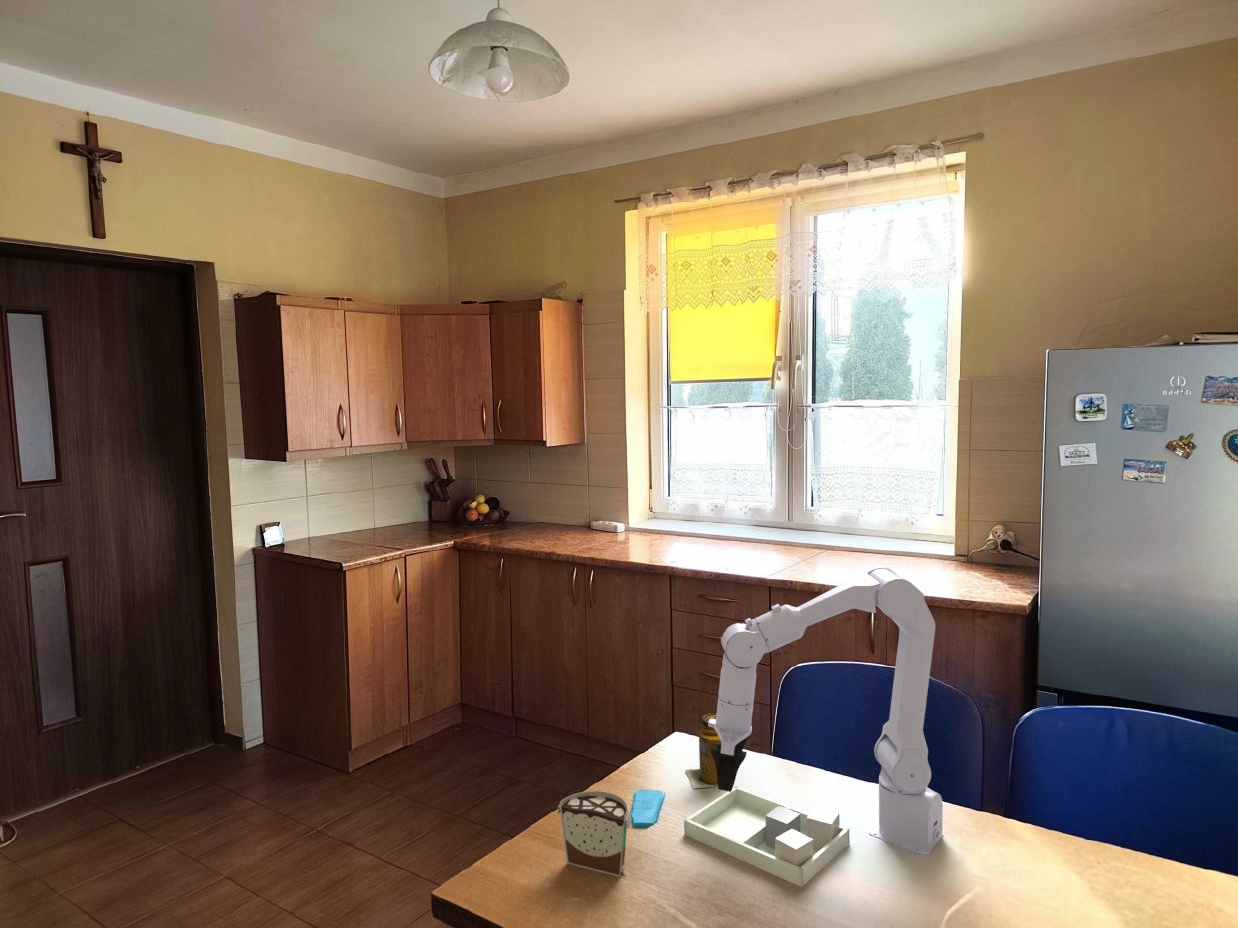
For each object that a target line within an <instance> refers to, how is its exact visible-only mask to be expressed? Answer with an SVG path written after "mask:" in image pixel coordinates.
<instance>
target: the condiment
mask: <svg viewBox="0 0 1238 928" xmlns="http://www.w3.org/2000/svg"><path fill="white" fill-rule="evenodd" d="M716 715H717V712H715V713H714V712H712V713H706V714H704V715H702V717H701V718H700V730H699V731H698V732H699V733H698V749H699V752H698V753H699V755H698V756H699V758H698V759H699V760H698V761H699V768H696V769H692V768H691V769H690V768H689V769H685V770H684V771H685V773H686V775H687V778H688V780H689V782H690V784H691V786H692V788H693V789H695V790H696V789H702V788H703V789H704V788H714V787H715V786H718V784H717V774H716V766H715V762H714V759H713V757H712V755H711V751H710V749H711V745H712V743H714V744H719V745H721V744H722V742H721V740H720V738H719V736H718V734H717V732H716V730H715V728H712V727H709V726H708V722H709V719H716Z"/></svg>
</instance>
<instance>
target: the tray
mask: <svg viewBox="0 0 1238 928" xmlns="http://www.w3.org/2000/svg"><path fill="white" fill-rule="evenodd" d="M778 806H781V807H784V808H786V809H789V810H792V811H794V812H797V813H800V833H801V834H803V835H805V836H807V817H808V815H809V814H810V813H809V812H805V811H803V810H801V809H797V808H795V807H793V806H790V805H787V804H784V803H782V802H779V801H777V800H774V799H771V798H769V797H765V796H764V795H761V794H758V793H755V792H752V791H750V790H747V789H744V788H742V787H739V786H733V788H732V791H731V792H729V791H725V792H724V793H723V794H722V795H720V796H719V797H717V798H716V799H714V800H712V801H711V802H709V803H708V804H707V805H705V806H703V807H702V808H700V809H699V810H697V811H696V812H694V813H692V814H691V815H690V816H688V817H687V818H685V819H683V825H684V826H683V828H684V829H683V830H684V834H683V835H684V836H686V837H689V838H691V839H694V840H696V841H698V842H700V843H701V844H705V845H707V846H709V847H711V848H714V849H715V850H717V851H720V852H722V853H724V854H727V855H729V856H731V857H733V858H736V859H737V860H740V861H743V862H744V863H746V864H748V865H751V866H753V867H755V868H757V869H760V870H762V871H765V872H767V873H768V874H771V875H774V876H775V877H778V878H780V879H782V880H785V881H786V882H789V883H791V884H793V885H796V886H798V887H800V888H803V887H804V886H805V885H806V884H807V883H808V882H809V881H810V880H811V879H813V878H814V877H815V876H816V875H817V874H818V873H819V872H820V871H821V870H823V869H824V868H825V867H826V866H827V865H828V864H829V863H831V862H832V860H834V858H836V857H837V856H838V855H839V854H840V853H842V852H843V850H845V849H846V848H847V847H848V846H850V828H849V827H845V826H844V825H840V833H839V834H838V835H837V836H836V837H834V838H833V839H832V840H831V841H830V842H829V843H828V844H826V845H825V846H824V847H823V848H822V849H821V850H820V851H818V850H814V849H813V857H811V858H810V859H809V860H808V861H807V862H806V863H805V864H803V865H802V866H801V867H798V866H795V865H793V864H791V863H788V862H786V861H784V860H781V859H779V858H777V857H775V849H774V848H772V847H769V846H767V845H766V816H765V815H767V814H768V813H769V812H771V811H772V810H774V809H775V808H776V807H778Z"/></svg>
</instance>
